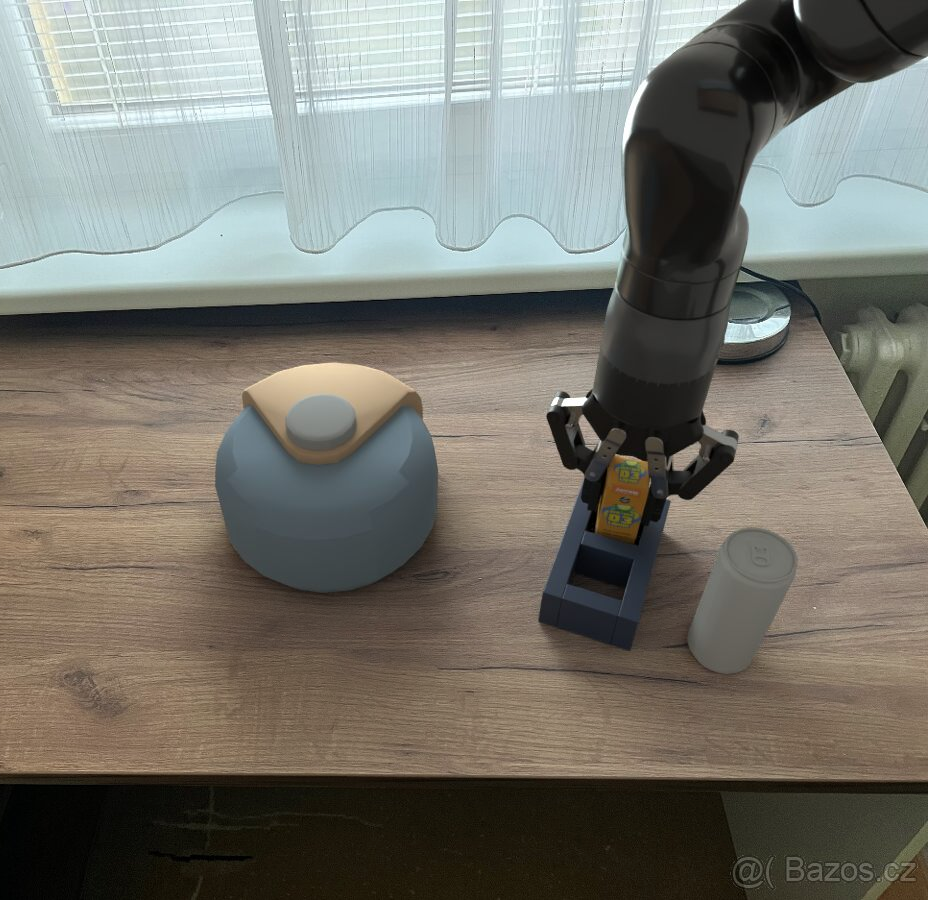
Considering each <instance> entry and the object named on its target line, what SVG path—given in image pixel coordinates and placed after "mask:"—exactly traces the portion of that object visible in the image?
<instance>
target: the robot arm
mask: <svg viewBox="0 0 928 900" xmlns="http://www.w3.org/2000/svg"><path fill="white" fill-rule="evenodd" d="M926 58H928V0H744V1H742V2H741V3H739V4H738V5H736V6H735V7H733V8H732V9H731V10H730V11H728V12H726V13H725V14H724V15H722V16H721V17H720V18H718V19H717V20H715V21H713V22H712V23H711V24H710V25H708V26H707V27H706V28H704V29H703V30H701V31H699V33H697V34H696V35H695V36H694V37H692V38H691V39H689V40H688V41H687V42H686V43H685V44H683V45H682V46H681V47H679V48H678V49H677V50H676V51H675V52H673V53H672V54H671V55H669V56H667V57H666V58H665V59H663V60H662V61H661V62H660V63H659V64H658V65H657V66H656V67H654V68H653V69H652V70H651V71H650V72H649V73H648V74H647V75H646V77H645V78H644V79H643V80H642V82H641V83H640V85H639V87H638V89H637V90H636V92H635V94H634V96H633V99H632V101H631V104H630V105H629V109H628V112H627V115H626V119H625V123H624V127H623V132H622V137H621V138H622V139H621V149H620V166H621V183H622V201H623V209H624V216H625V221H626V229H625V232H624V236H623V241H622V247H621V251H620V257H619V262H618V268H617V274H616V277H615V278H616V279H615V283H614V287H613V290H612V293H611V295H610V299H609V301H608V304H607V308H606V312H605V318H604V323H603V329H602V335H601V340H600V347H599V351H598V357H597V363H596V367H595V368H596V369H595V373H594V374H595V375H594V380H593V386H592V388H591V389H590V390H588V392H587V393H586V395H585V397H571V396H570V394H569V393H567V392H566V391H563V390H560V391H557V392H555V394H554V396H553V399H552V400H551V403H550V406H549V407H548V410H547V413H546V415H545V417H546V420H547V424H548V427H549V429H550V432H551V435H552V438H553V441H554V443H555V446H556V449H557V452H558V456H559V458H560V461H561V463H562V466H563V467H564V469H566V470H569V471H575V470H577V471H580V472H581V473H582V474H583V476H584V478H583V479H584V483H583V488H582V494H581V500H582V502H583V503H587V504H588V507H587V510H590V511H593V512H596V510H597V507H598V504H599V501H600V498H601V494H602V490H603V485H604V480H605V475H606V470H607V467H608V466H609V464H610V463H611V461H612V459H613V458H614V456H615V455H616V456H620V457H622V456H624V457H634V458H636V459H637V460H639V461H645V462H648V474H649V478H650V483H649V492H648V496H647V500H646V503H645V507H644V511H643V514H642V518H641V522H640V525H644V526H649V523H650V521H653V522H658V521H659V520H660V519H661V515H662V512H663V508H664V505H665V501H666V499H667V498H668V497H671V496H678V497H679V498H680V499H682V500H685V501H691V500H693V499H695V497H697V496H698V495H699V494H700V493H701V492H702V491H703V490H705V488H707V487H708V485H710V484H711V483H712V482H713V481H714V480H715V479H717V477H719V476H720V475H721V474H722V473H723V472H724V471H726V469H727V468H729V467H730V466H731V465H732V464H733V463H734V462H735V457H736V454H737V449H738V444H739V443H738V442H739V437H740V436H739V434H738V432H737V431H735V430H733V429H725V430H722V432H721V431H718V430H716V429H714V428H712V427H710V426H709V425H707V418H706V415H705V414H704V407H705V404H706V401H707V397H708V394H709V390H710V387H711V384H712V380H713V378H714V374H715V371H716V367H717V363H718V360H719V356H720V354H721V351H722V348H723V347H724V345H725V340H726V333H727V329H728V325H729V319H730V309H731V308H730V307H731V303H732V299H733V295H734V292H735V289H736V285H737V283H738V279H739V275H740V272H741V269H742V265H743V262H744V258H745V254H746V250H747V246H748V241H749V234H750V225H749V217H748V215H747V212H746V209H745V208H744V207H743V205H742V204H741V200H742V195H743V192H744V188H745V184H746V182H747V179H748V176H749V173H750V171H751V168H752V166H753V164H754V161H755V159H756V157H757V156H758V155H759V154H760V153H761V151H763V149H765V148H766V146H767V145H769V144H770V142H771V141H772V140H773V139H774V138H775V137H776V136H778V135H779V133H781V131H783V130H784V129H785V128H787V127H788V126H790V125H791V124H792V123H794V122H795V121H797V120H798V119H800V118H802V117H803V116H804V115H806V114H807V113H809V112H810V111H812V110H814V109H815V108H816V107H818V106H820V105H822V104H824V103H825V102H827V101H829V100H830V99H832V98H834V97H836V96H837V95H840V94H841V93H842V92H844V91H846V90H848V89H849V88H852V86H854V85H856V84H869V83H874V82H877V81H880V80H883V79H885V78H888V77H890V76H892V75H895V74H898V73H899V72H901V71H903V70H905V69H908V68H910V67H911V66H914V65H916V64H917V63H919V62H921V61H922V60H924V59H926ZM582 416H583V417H584V418H585V420H586V421H587V423H588V424H589V425H590V427H591V428H592V430H593V432H594V433H595V435H596V436H597V437H598V441H597V443H596V444H595V447H594V449H591V448H589V447H587V446H586V442H585V438H584V435H583V432H582V429H581V426H580V420H581V417H582ZM696 443H699V444H700V446H699V451H698V454H697V456H695V458H694V459H692V460H691V461H690V463H688V464H687V465H686V466H685V467H684V468H683V470H675V465H674V464H675V462H674V455H675V454H676V455H677V454H678V453H680V452H681V451H683V450H685V449H687V448H689V447H691V446H693V445H694V444H696Z"/></svg>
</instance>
